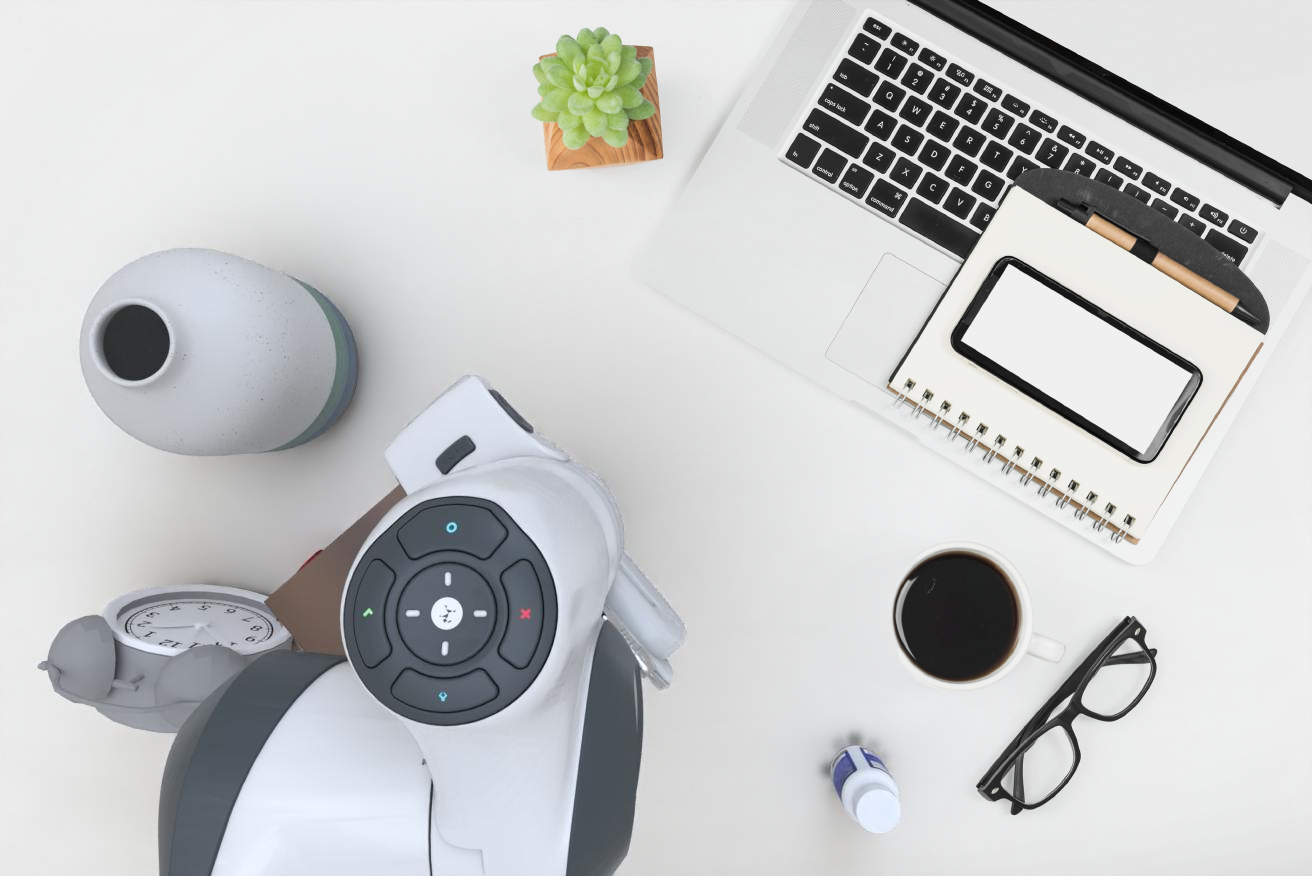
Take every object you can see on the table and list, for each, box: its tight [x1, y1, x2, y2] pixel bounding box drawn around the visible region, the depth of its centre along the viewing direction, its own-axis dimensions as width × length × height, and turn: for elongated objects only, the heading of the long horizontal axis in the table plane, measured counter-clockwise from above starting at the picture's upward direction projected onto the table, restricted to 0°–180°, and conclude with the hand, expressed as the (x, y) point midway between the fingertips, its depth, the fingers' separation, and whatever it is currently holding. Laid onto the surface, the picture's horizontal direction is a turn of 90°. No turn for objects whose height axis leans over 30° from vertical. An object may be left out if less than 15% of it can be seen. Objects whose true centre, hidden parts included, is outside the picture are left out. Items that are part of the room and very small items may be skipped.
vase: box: [78, 247, 360, 457], centre depth 71 cm, size 17×17×24 cm
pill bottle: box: [829, 744, 902, 835], centre depth 77 cm, size 5×5×9 cm
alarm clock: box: [36, 583, 294, 735], centre depth 72 cm, size 16×9×22 cm, turn 77°
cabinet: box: [264, 483, 407, 656], centre depth 65 cm, size 12×14×35 cm
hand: (571, 512), depth 56 cm, fingers closed
